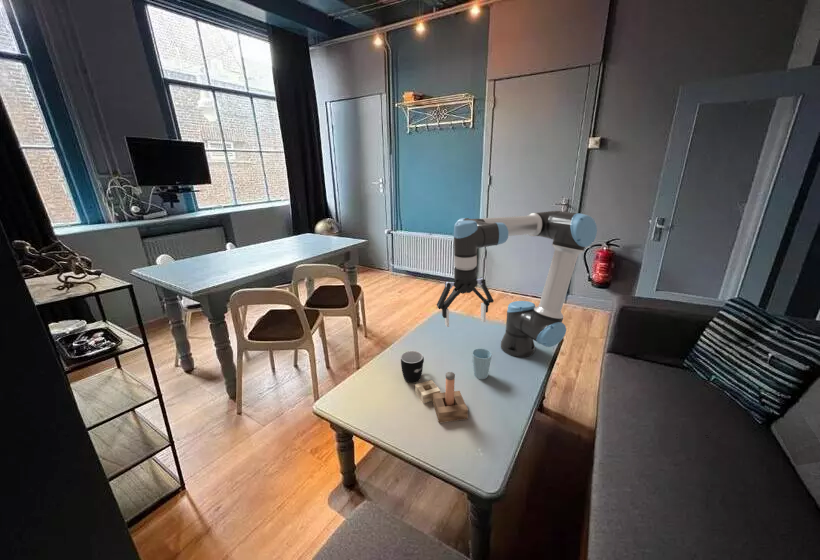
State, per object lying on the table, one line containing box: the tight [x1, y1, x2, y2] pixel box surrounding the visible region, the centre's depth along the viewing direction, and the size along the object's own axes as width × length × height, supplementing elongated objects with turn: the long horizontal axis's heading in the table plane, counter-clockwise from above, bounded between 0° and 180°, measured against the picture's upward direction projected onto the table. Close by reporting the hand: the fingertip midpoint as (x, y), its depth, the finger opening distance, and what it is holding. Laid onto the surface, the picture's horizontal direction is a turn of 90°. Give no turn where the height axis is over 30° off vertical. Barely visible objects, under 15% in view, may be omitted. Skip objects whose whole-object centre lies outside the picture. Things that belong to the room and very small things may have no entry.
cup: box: [471, 347, 493, 380], centre depth 132 cm, size 8×8×10 cm
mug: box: [400, 350, 425, 384], centre depth 133 cm, size 12×9×10 cm
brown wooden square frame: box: [432, 390, 469, 423], centre depth 114 cm, size 10×10×4 cm
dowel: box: [444, 371, 456, 406], centre depth 112 cm, size 3×3×15 cm
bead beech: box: [414, 379, 441, 404], centre depth 122 cm, size 7×7×4 cm
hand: (465, 322), depth 118 cm, fingers open, 13 cm apart
